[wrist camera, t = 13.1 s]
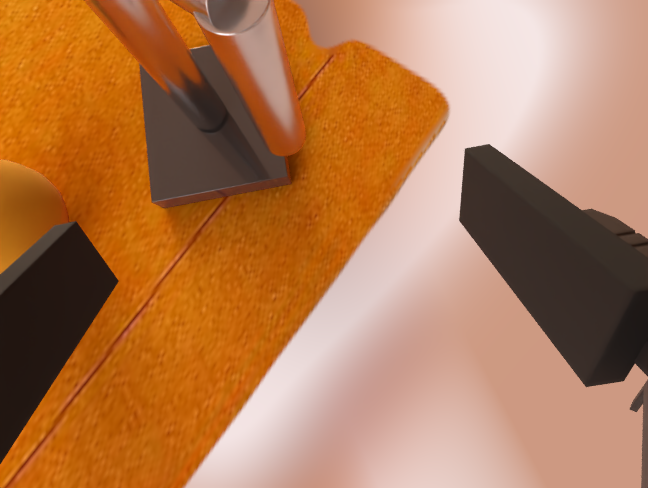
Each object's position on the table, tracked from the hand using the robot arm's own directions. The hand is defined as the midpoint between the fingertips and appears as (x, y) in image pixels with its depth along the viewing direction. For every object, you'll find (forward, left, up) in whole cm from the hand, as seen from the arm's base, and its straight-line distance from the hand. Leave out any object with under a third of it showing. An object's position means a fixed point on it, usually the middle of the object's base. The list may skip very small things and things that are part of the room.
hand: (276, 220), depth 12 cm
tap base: (+14, -9, -18) cm, 24 cm away
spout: (+9, -7, -15) cm, 19 cm away
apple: (+24, +6, -18) cm, 31 cm away
